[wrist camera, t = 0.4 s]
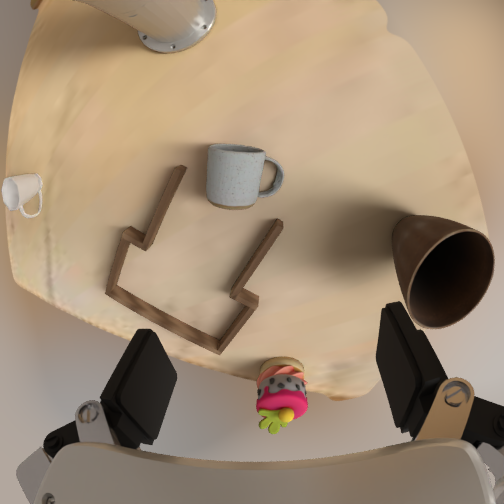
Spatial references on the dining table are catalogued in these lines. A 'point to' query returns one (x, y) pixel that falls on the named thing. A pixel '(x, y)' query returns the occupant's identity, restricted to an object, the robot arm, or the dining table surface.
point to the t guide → (163, 318)
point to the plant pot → (441, 268)
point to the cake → (281, 392)
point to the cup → (21, 192)
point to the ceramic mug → (237, 176)
